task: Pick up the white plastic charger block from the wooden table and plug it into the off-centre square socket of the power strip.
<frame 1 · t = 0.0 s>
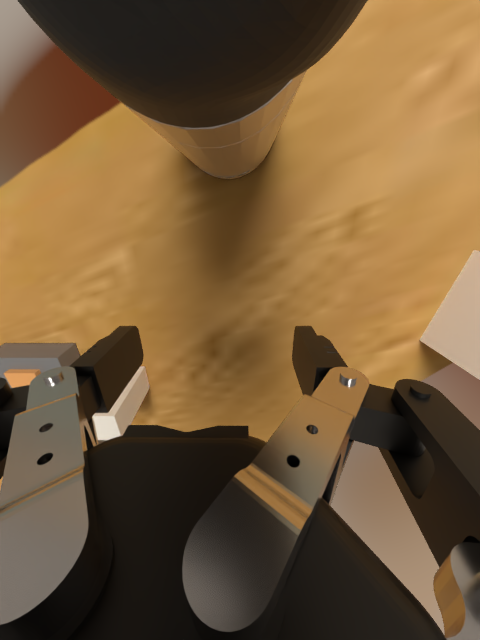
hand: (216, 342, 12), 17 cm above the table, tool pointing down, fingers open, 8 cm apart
charger: (134, 377, 35), on the table
power strip: (66, 401, 37), on the table
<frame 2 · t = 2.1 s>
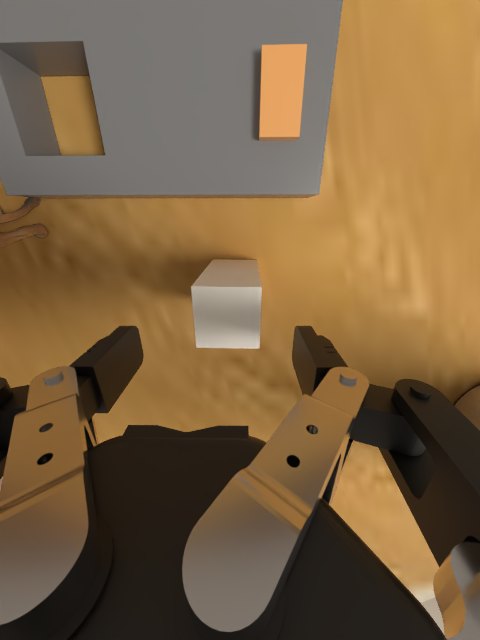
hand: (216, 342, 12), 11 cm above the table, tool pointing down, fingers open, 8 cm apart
charger: (234, 280, 22), on the table
power strip: (166, 122, 17), on the table
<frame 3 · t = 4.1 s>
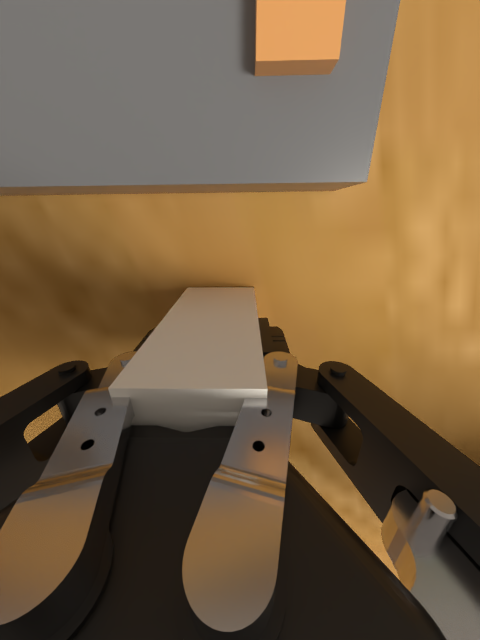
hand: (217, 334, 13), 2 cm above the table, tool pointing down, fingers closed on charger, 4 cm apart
charger: (222, 317, 15), on the table, touching gripper
power strip: (93, 61, 10), on the table
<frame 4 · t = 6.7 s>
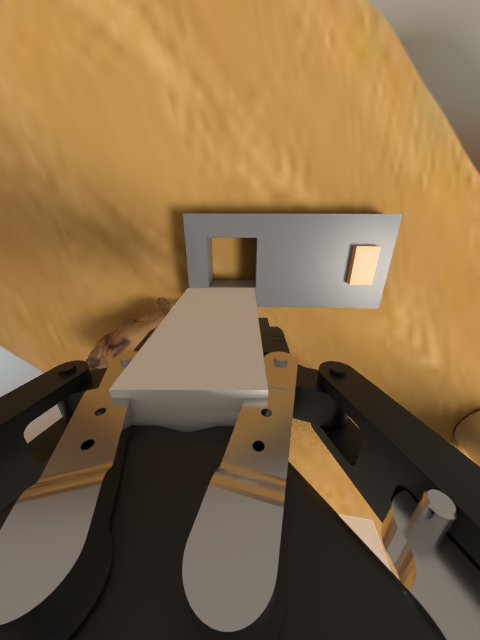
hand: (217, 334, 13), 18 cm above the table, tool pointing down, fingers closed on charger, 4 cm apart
lion figurine: (155, 322, 33), on the table
milk: (335, 528, 52), on the table
charger: (222, 318, 15), point 16 cm above the table, touching gripper
power strip: (282, 258, 29), on the table
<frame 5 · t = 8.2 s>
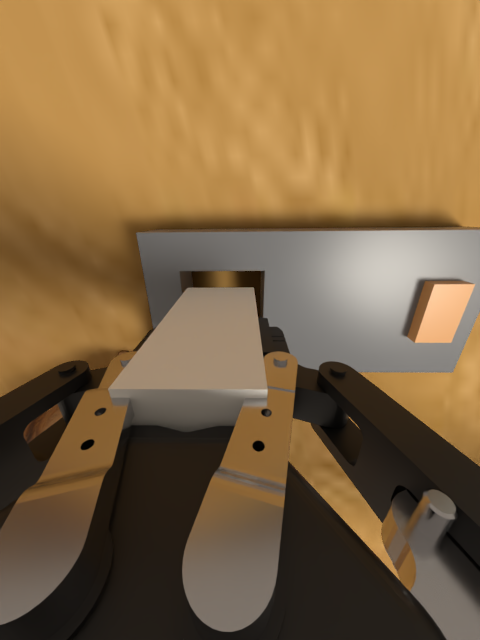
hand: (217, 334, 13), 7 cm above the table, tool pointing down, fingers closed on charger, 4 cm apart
lion figurine: (118, 382, 23), on the table
charger: (221, 318, 15), point 5 cm above the table, touching gripper
power strip: (301, 294, 19), on the table
when the fingers open (5 cm above the table, at t = 9.3 s): charger drops 2 cm, resting in power strip.
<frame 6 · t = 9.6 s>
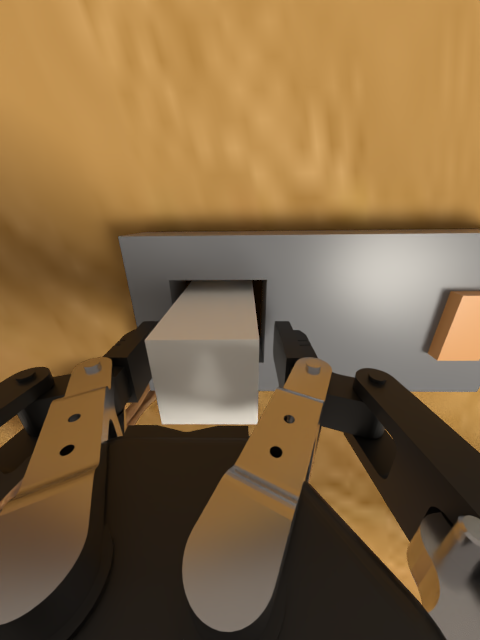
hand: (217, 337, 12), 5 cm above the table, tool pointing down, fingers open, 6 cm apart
lion figurine: (109, 397, 21), on the table
charger: (224, 304, 17), resting in power strip
power strip: (306, 303, 17), on the table
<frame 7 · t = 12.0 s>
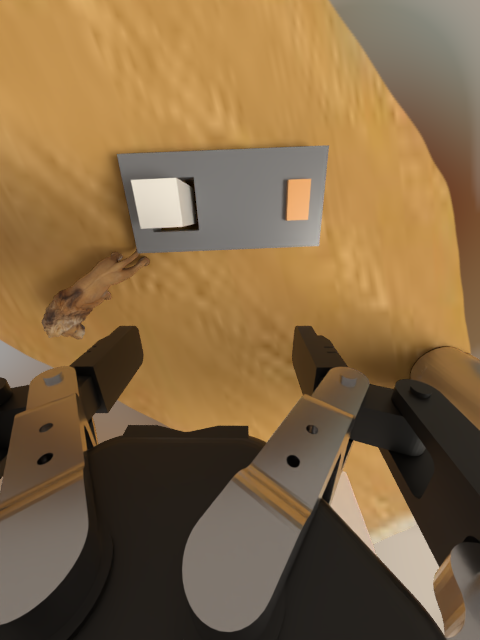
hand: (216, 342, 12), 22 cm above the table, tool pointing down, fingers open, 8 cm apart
lion figurine: (114, 280, 33), on the table, touching power strip
milk: (312, 484, 54), on the table
charger: (179, 206, 29), resting in power strip
power strip: (226, 204, 29), on the table
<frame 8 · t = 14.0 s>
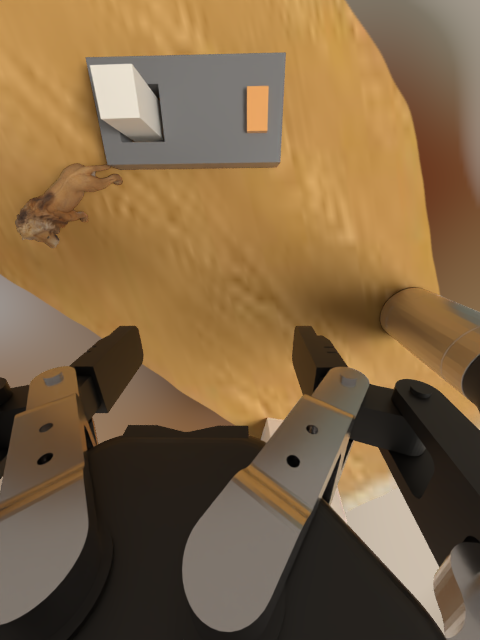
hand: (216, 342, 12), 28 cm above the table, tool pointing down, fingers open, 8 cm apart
lion figurine: (91, 202, 35), on the table
milk: (286, 438, 55), on the table
charger: (149, 125, 31), resting in power strip
power strip: (195, 123, 31), on the table
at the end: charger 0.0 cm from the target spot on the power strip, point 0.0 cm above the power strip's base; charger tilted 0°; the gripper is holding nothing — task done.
